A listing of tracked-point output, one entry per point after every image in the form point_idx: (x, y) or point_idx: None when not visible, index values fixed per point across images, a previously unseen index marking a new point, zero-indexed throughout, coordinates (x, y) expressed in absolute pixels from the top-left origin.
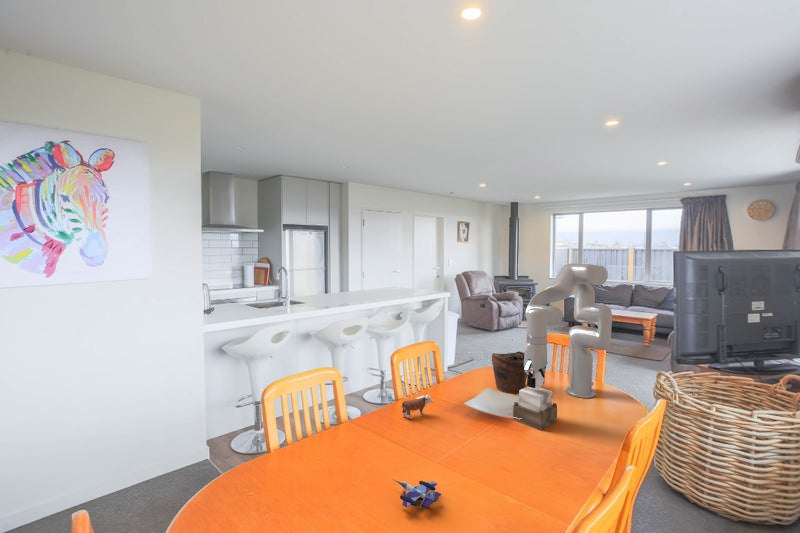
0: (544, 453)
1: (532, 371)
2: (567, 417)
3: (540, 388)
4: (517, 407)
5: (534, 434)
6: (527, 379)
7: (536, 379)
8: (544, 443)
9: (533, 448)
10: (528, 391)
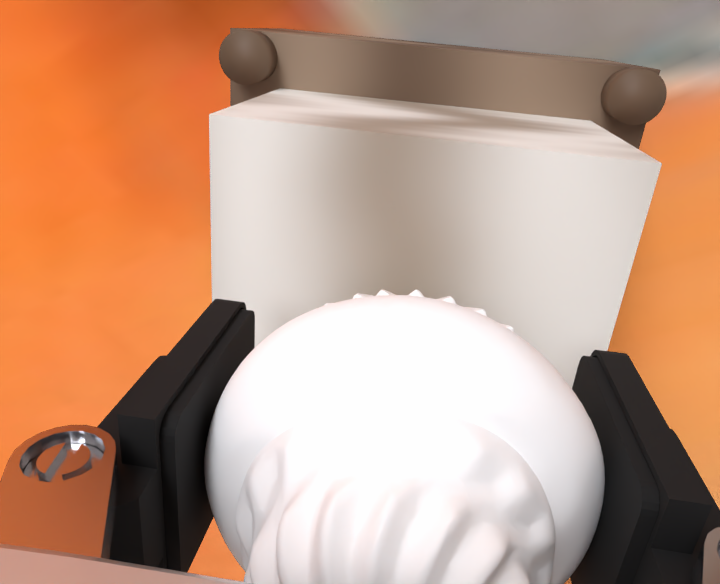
0: (11, 429)
1: (320, 563)
2: (677, 389)
3: (565, 360)
4: (233, 94)
5: (176, 297)
6: (159, 370)
7: (238, 559)
8: (117, 392)
9: (3, 363)
10: (284, 265)
